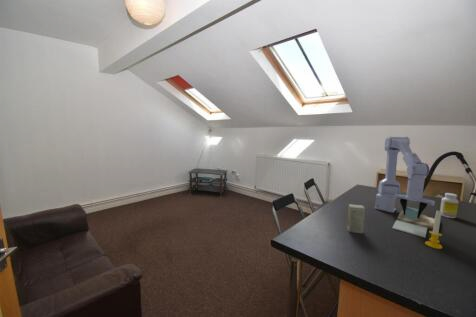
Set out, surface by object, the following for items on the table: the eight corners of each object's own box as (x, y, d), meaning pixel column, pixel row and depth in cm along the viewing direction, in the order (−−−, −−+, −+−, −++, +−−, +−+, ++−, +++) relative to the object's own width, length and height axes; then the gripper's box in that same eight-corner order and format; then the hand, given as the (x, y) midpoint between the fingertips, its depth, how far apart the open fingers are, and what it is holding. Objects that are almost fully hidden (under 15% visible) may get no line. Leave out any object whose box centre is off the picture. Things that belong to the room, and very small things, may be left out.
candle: (424, 240, 89) (429, 206, 87) (441, 245, 86) (447, 209, 83) (425, 245, 85) (430, 209, 83) (443, 250, 82) (449, 213, 79)
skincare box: (361, 229, 98) (363, 205, 96) (363, 234, 94) (366, 208, 92) (346, 227, 100) (348, 203, 98) (347, 231, 96) (350, 206, 94)
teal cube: (405, 215, 102) (407, 206, 101) (417, 218, 99) (418, 209, 98) (404, 217, 99) (405, 209, 98) (416, 220, 96) (417, 211, 95)
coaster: (392, 228, 100) (392, 227, 100) (396, 221, 108) (396, 220, 108) (425, 237, 91) (425, 236, 91) (427, 229, 100) (427, 227, 99)
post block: (396, 220, 109) (398, 211, 109) (401, 212, 119) (402, 205, 119) (438, 230, 98) (440, 221, 98) (439, 221, 108) (440, 213, 107)
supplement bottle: (459, 219, 112) (463, 196, 110) (445, 218, 113) (448, 195, 111) (449, 214, 118) (453, 192, 116) (436, 213, 119) (439, 191, 118)
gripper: (394, 186, 99) (391, 213, 101) (435, 193, 89) (431, 223, 91) (397, 184, 104) (393, 210, 106) (436, 190, 94) (432, 218, 96)
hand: (411, 216), depth 99 cm, fingers closed on teal cube, 4 cm apart
